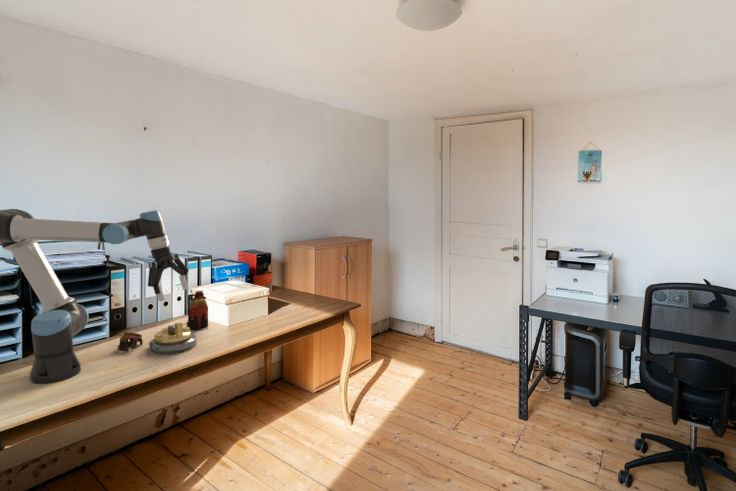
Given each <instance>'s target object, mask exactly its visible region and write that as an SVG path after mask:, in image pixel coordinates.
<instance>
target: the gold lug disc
mask: <svg viewBox="0 0 736 491" xmlns="http://www.w3.org/2000/svg"><path fill="white" fill-rule="evenodd" d="M183 324H184V323H183V322H181V321H179V322H175V323H174V325H175V334H168V327H169V326H167V327H163V328H162V329H161V331H158V332H156V333H155V334H154V335H153V336H154V337H153V339H154V342H155V343H156V344H158V345H174V344H179V343H183V342H186V341H188V340H189V339H191V334H192V331H191V330H190V328H189V327H187V326H185V327H184V326H183Z"/></svg>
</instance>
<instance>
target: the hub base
mask: <svg viewBox="0 0 736 491" xmlns="http://www.w3.org/2000/svg"><path fill="white" fill-rule="evenodd" d="M167 327H168V334H175V324H173V325H169V326H167ZM196 345H197V336H196V334H195V333H191V339H189V340H188V341H186V342H183V343H179V344H174V345H158V344H156V343H155V342H154V338H152V339H151V340H150V341H149V351H150V352H151V353H152V354H155V355H174V354H175V355H176V354H178V353H179V354H180V353H182V352H186V351H189V350H191V349H193V348H195V347H196Z"/></svg>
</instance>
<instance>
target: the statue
mask: <svg viewBox="0 0 736 491" xmlns="http://www.w3.org/2000/svg"><path fill="white" fill-rule="evenodd" d="M206 299H207V296H205V294H204V291H203V290H197V291H196V290H195V291H194V297H192V298H191V302H190V305H189V308H188V309H187V322H186V327H189V328H190V330H191V332H192V331H198V330H203V329H207V328H208V326H209V305H208V303H207V300H206Z"/></svg>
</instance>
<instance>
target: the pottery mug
mask: <svg viewBox="0 0 736 491" xmlns="http://www.w3.org/2000/svg"><path fill="white" fill-rule="evenodd" d="M142 337H143V335H142V334H141V333H136V332H123V335H122V336H121V337H120V338H119V343H118V344H119V345H117V351H118V352H129V349H131V350H134V349H136V348H137V345H138V343H140V344H139V345H140V346H142V345H143V342H144V341H143V338H142Z"/></svg>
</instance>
